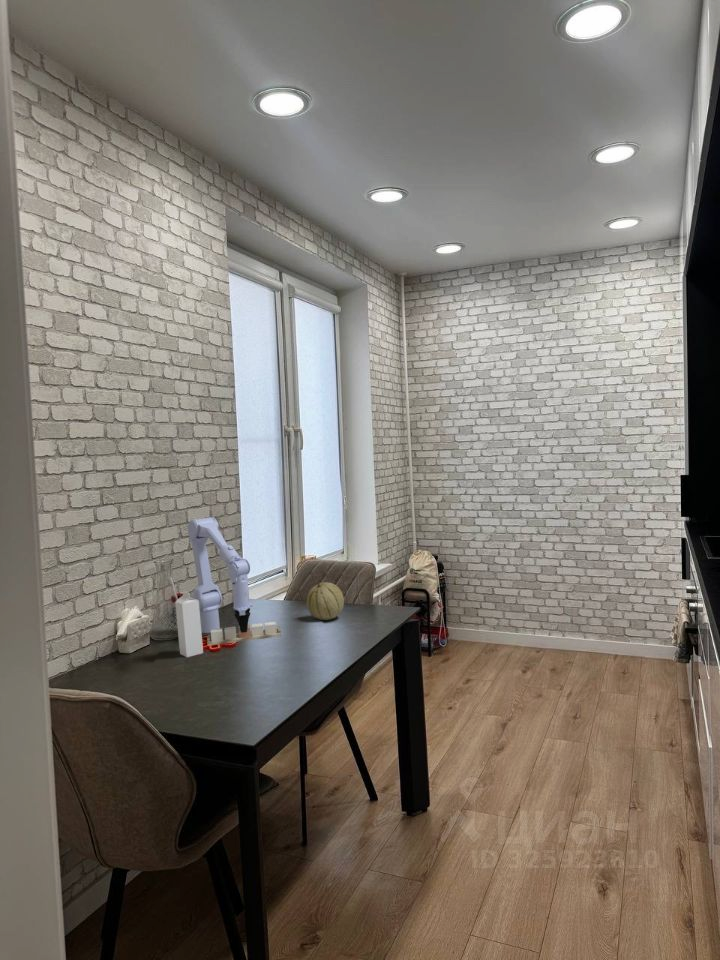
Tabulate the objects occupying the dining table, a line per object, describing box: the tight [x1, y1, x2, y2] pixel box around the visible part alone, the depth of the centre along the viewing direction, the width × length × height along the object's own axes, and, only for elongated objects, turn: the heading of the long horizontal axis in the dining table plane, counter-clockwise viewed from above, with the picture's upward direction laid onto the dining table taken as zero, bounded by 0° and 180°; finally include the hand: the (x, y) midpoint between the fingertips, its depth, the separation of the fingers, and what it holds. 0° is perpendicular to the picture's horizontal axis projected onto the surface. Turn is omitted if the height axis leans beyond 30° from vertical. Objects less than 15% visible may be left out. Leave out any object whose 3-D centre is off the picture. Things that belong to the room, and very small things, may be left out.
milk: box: [174, 590, 204, 658], centre depth 229 cm, size 6×6×22 cm
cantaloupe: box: [306, 581, 345, 621], centre depth 264 cm, size 15×15×15 cm
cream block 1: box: [210, 627, 224, 641], centre depth 242 cm, size 4×4×4 cm
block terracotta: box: [238, 624, 251, 638], centre depth 244 cm, size 4×4×4 cm
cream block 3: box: [250, 622, 264, 636], centre depth 245 cm, size 4×4×4 cm
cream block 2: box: [224, 626, 237, 640], centre depth 243 cm, size 4×4×4 cm
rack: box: [206, 625, 282, 646], centre depth 244 cm, size 26×8×3 cm, turn 101°
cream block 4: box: [264, 621, 277, 635], centre depth 246 cm, size 4×4×4 cm
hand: (244, 630), depth 244 cm, fingers closed on block terracotta, 4 cm apart
